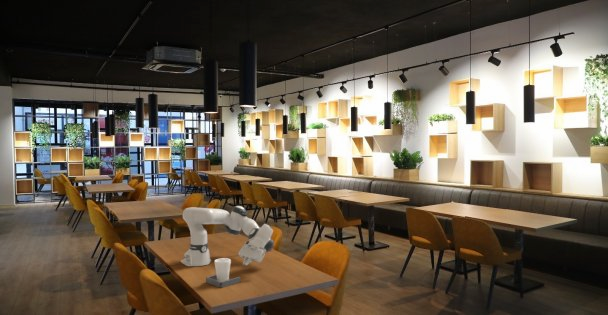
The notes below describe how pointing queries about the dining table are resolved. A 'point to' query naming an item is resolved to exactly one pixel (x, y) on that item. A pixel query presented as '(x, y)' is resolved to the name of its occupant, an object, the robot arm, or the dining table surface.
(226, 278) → the foam cup
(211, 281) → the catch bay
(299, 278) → the dining table surface
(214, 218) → the robot arm
